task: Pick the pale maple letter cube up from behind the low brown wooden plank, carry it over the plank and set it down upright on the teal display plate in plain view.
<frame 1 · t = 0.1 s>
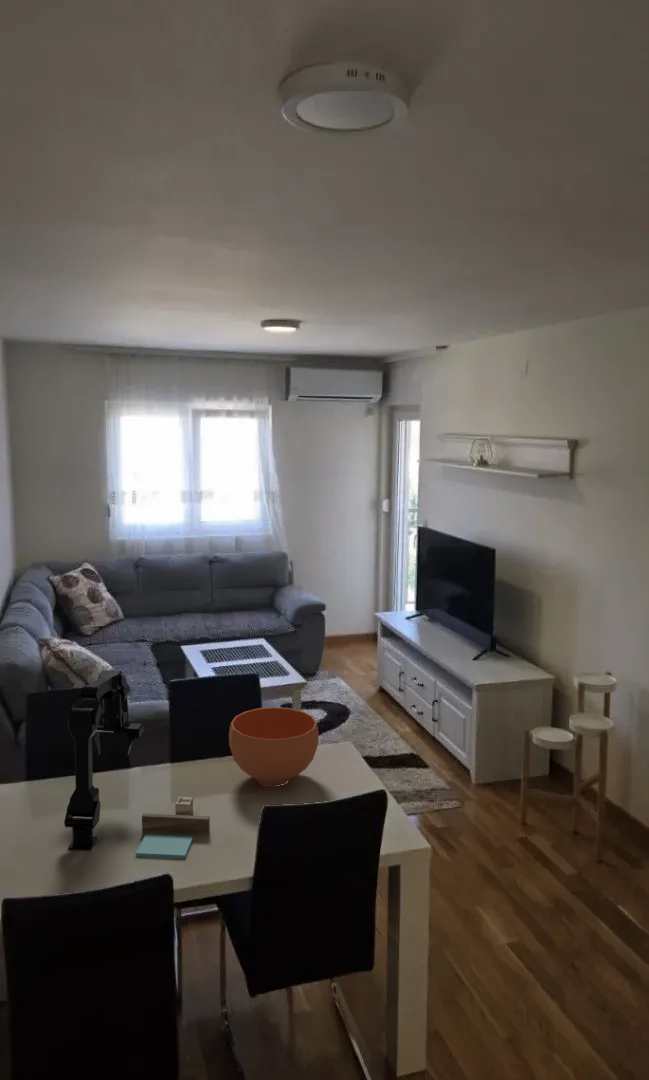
hand: (113, 755, 252), 15 cm above the table, fingers open, 9 cm apart
bowl: (273, 780, 270), on the table
brown wooden plank: (175, 831, 234), on the table
maple cube: (184, 814, 245), on the table
display plate: (165, 847, 225), on the table
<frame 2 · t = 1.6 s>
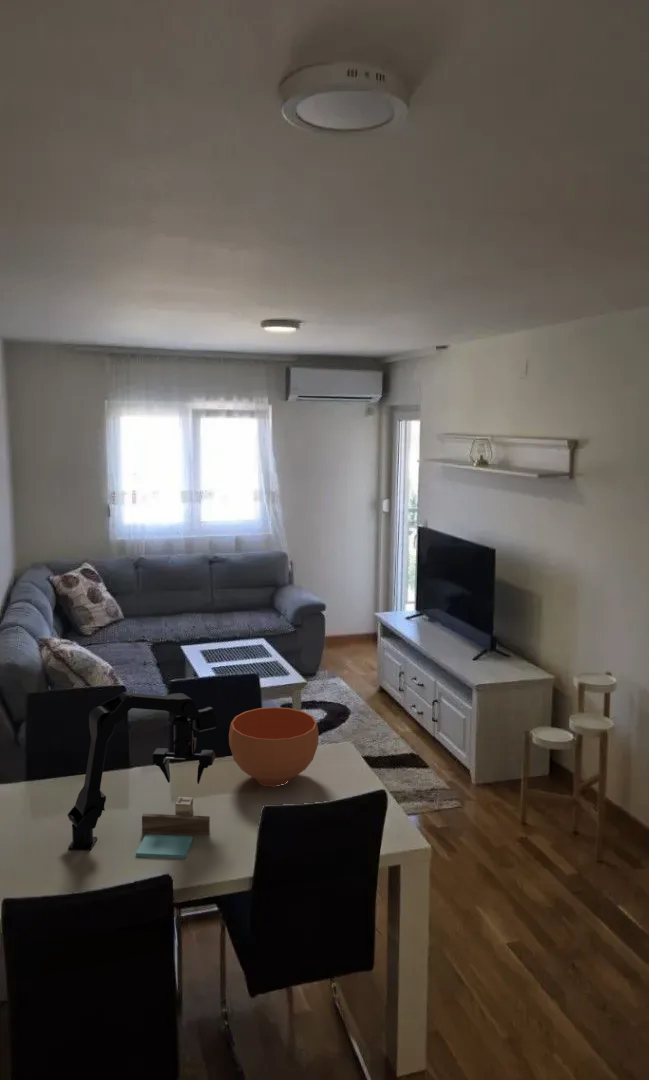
hand: (183, 782, 244), 10 cm above the table, fingers open, 9 cm apart
nothing on the table moved.
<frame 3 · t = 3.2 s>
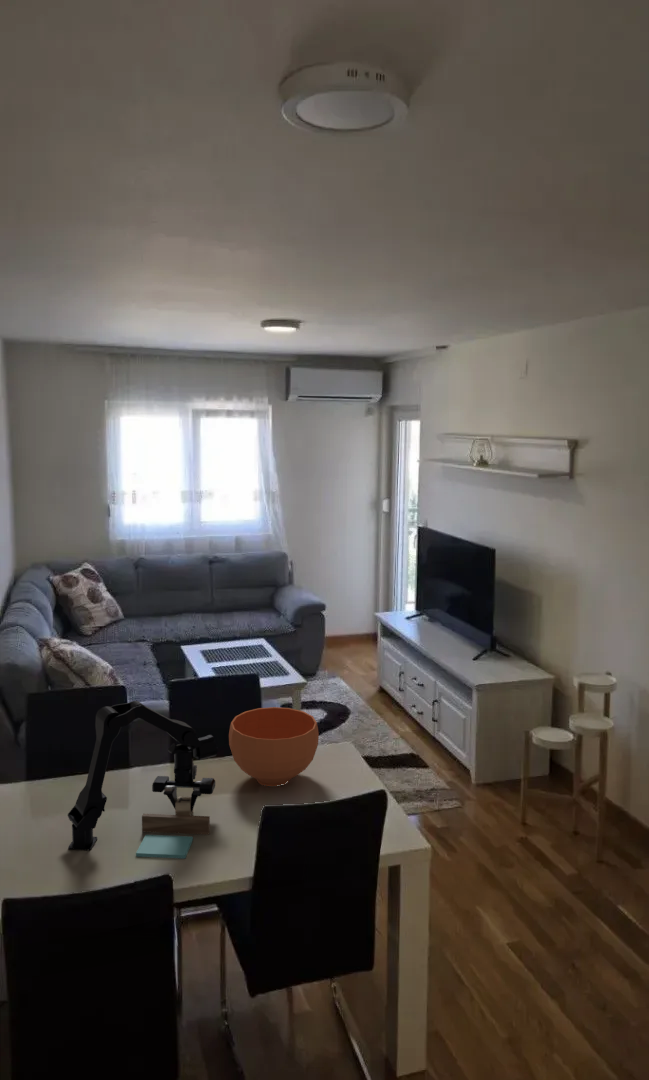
hand: (184, 810, 245), 1 cm above the table, fingers closed on maple cube, 4 cm apart
maple cube: (184, 813, 245), on the table, touching gripper
everything else where it was.
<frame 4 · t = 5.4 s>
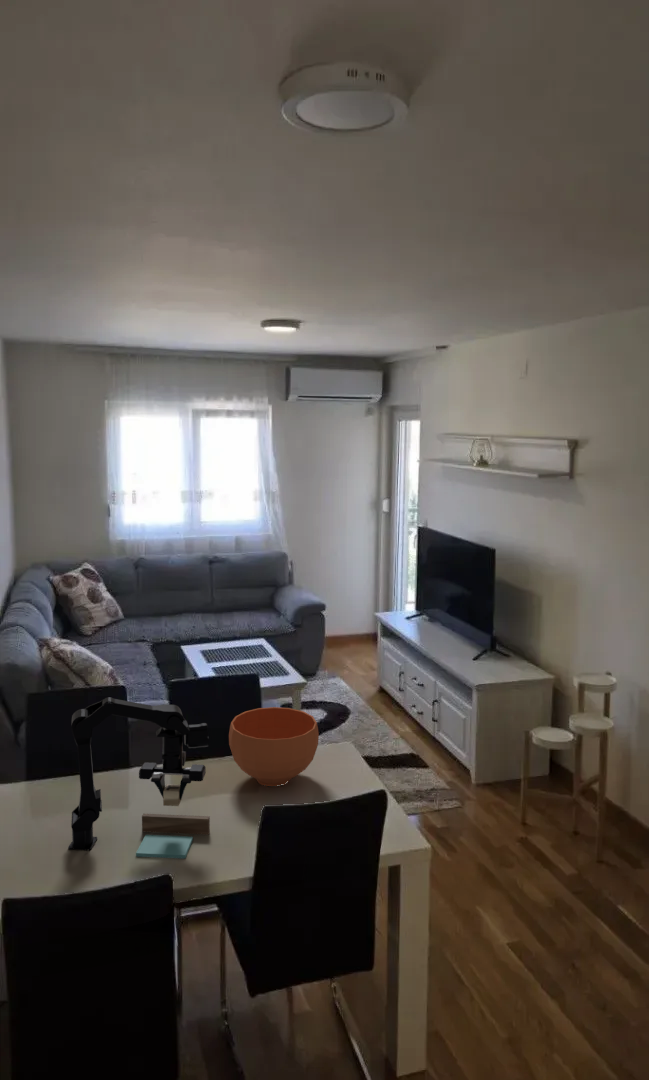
hand: (172, 798, 232), 11 cm above the table, fingers closed on maple cube, 4 cm apart
maple cube: (172, 802, 232), point 10 cm above the table, touching gripper
everything else where it was.
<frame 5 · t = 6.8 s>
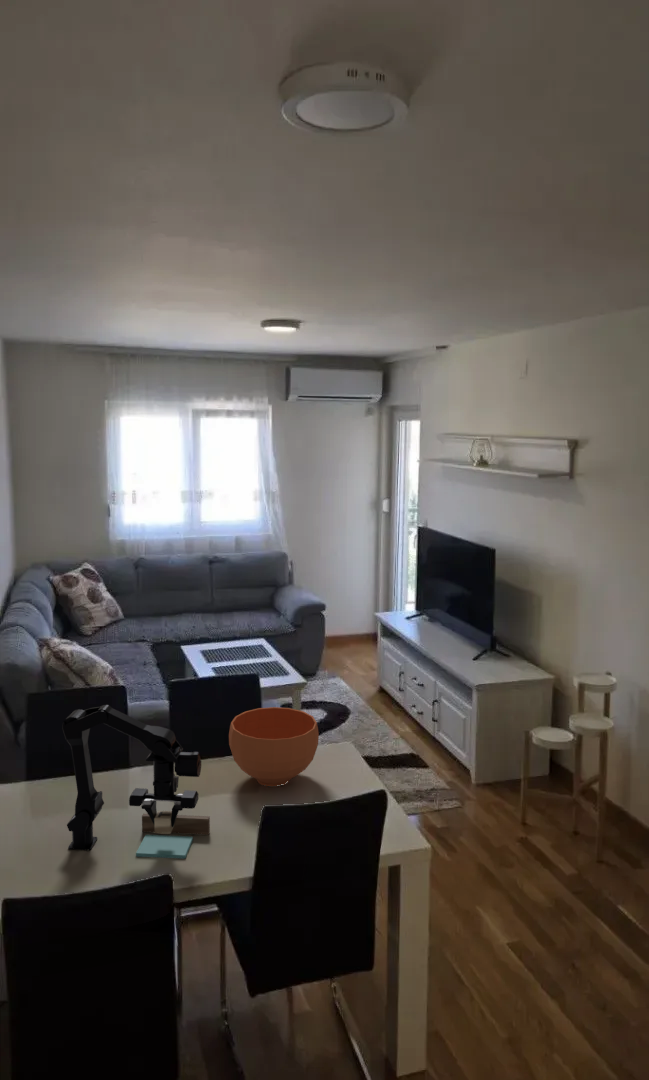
hand: (164, 826, 224), 7 cm above the table, fingers closed on maple cube, 4 cm apart
maple cube: (164, 829, 225), point 6 cm above the table, touching gripper
everything else where it was.
when the fingers open (3 cm above the table, at t = 7.7 s): maple cube drops 1 cm, resting on display plate.
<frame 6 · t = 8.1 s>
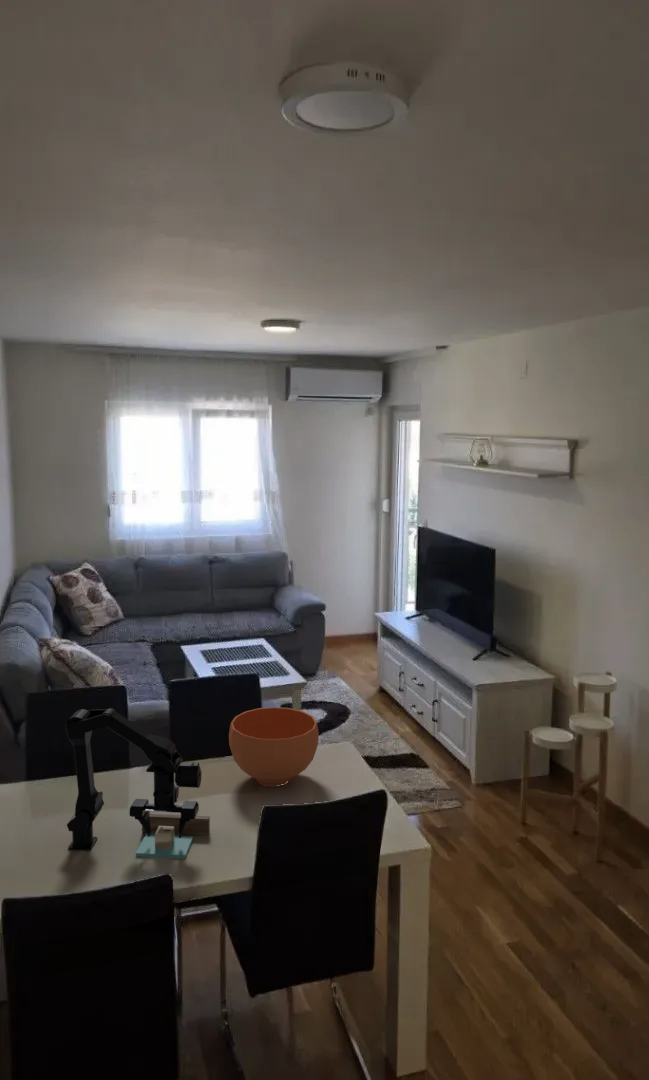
hand: (164, 836, 225), 3 cm above the table, fingers open, 9 cm apart
maple cube: (164, 844, 225), point 1 cm above the table, touching display plate
everything else where it was.
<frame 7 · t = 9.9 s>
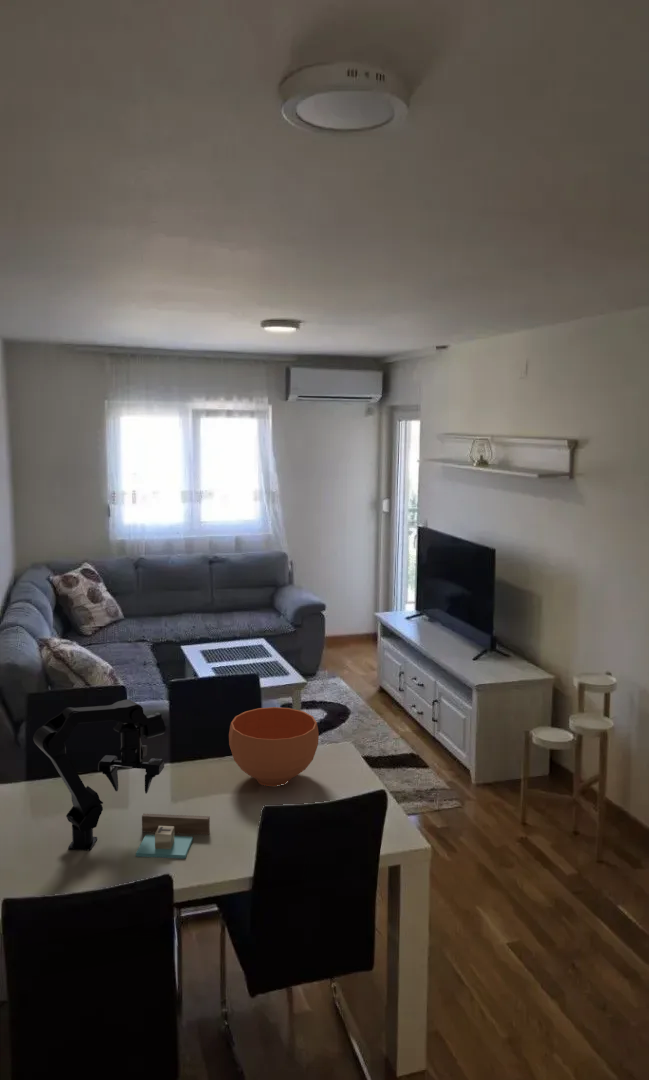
hand: (131, 791, 236), 11 cm above the table, fingers open, 9 cm apart
nothing on the table moved.
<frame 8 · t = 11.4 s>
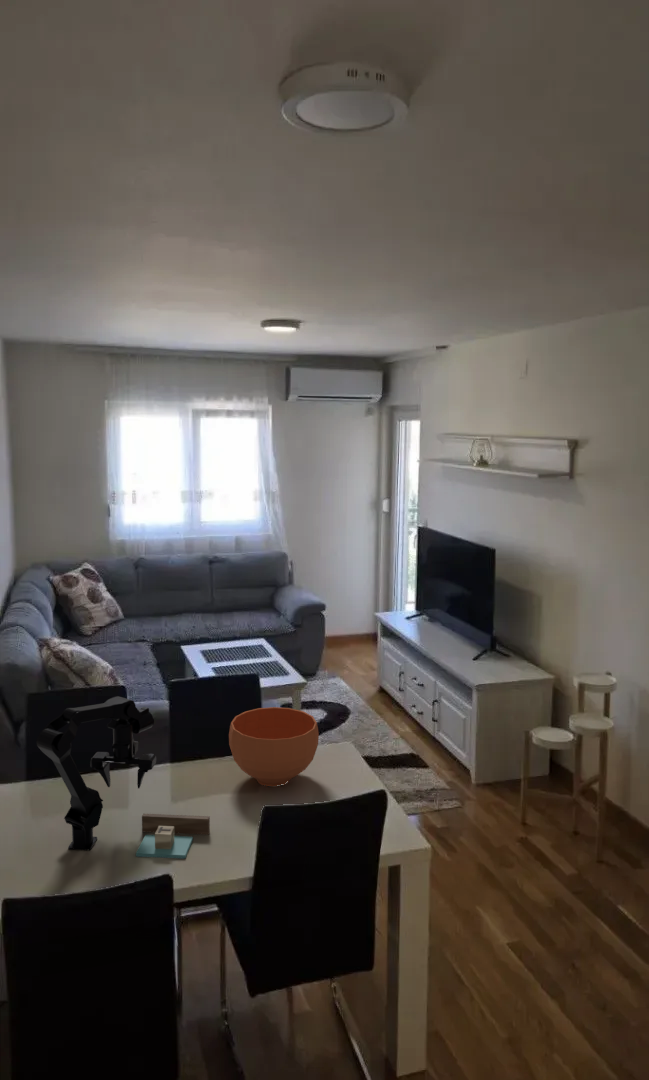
hand: (124, 787, 238), 11 cm above the table, fingers open, 9 cm apart
nothing on the table moved.
at the end: maple cube inside the target area on the display plate (0.0 cm from its centre), point 1.0 cm above the display plate's base; the gripper is holding nothing; maple cube tilted 0° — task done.
